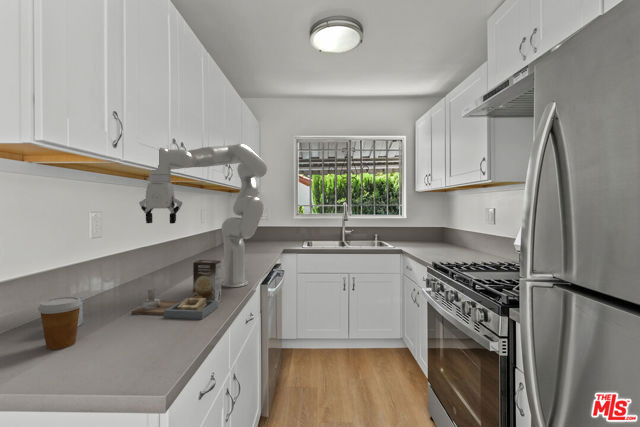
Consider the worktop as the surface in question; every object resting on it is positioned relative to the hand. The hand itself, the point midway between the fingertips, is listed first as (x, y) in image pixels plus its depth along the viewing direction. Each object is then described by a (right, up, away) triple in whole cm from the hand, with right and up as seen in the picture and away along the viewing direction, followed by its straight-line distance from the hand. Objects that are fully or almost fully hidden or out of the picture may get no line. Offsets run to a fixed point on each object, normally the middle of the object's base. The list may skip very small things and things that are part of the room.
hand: (160, 223), depth 140 cm
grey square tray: (+18, -31, -16) cm, 39 cm away
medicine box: (-13, -31, -32) cm, 47 cm away
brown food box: (+20, -31, -4) cm, 37 cm away
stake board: (+5, -31, -12) cm, 33 cm away
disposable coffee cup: (-7, -32, -45) cm, 55 cm away
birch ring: (+18, -30, -16) cm, 38 cm away
